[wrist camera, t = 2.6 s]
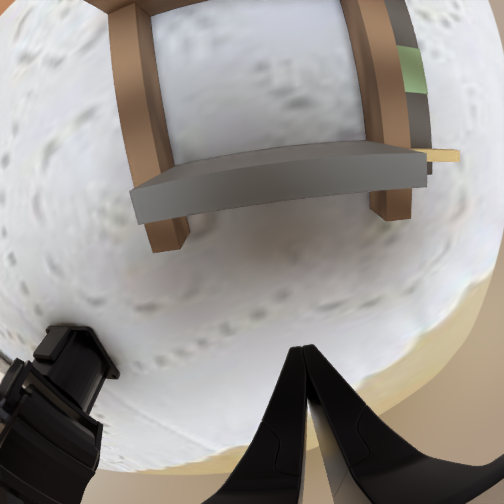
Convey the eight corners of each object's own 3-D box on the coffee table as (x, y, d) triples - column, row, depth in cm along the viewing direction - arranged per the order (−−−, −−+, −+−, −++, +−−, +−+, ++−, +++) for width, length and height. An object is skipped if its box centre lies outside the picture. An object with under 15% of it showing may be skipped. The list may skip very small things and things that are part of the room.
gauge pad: (436, 160, 13) (505, 184, 8) (182, 186, 14) (138, 224, 9) (435, 140, 12) (506, 157, 7) (177, 165, 14) (129, 191, 8)
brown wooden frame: (427, 202, 15) (509, 256, 8) (165, 236, 16) (108, 316, 9) (387, -32, 8) (445, -81, 1) (124, -8, 9) (56, -57, 2)
